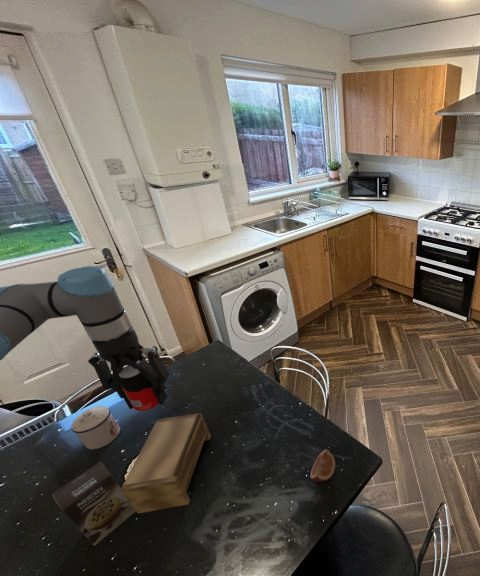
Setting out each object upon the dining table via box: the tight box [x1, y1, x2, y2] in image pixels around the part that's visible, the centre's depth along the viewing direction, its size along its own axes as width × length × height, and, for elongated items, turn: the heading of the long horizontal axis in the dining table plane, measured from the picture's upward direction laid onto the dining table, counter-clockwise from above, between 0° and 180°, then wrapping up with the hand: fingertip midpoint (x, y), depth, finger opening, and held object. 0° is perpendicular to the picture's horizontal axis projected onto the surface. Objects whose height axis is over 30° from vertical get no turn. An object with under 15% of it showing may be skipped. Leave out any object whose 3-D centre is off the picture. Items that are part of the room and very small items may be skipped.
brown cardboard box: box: [52, 461, 137, 546], centre depth 74 cm, size 9×6×16 cm
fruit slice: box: [309, 448, 336, 483], centre depth 87 cm, size 8×7×5 cm
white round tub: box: [70, 405, 121, 450], centre depth 96 cm, size 12×9×12 cm
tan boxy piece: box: [120, 412, 212, 514], centre depth 86 cm, size 12×20×12 cm, turn 11°
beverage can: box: [119, 365, 159, 412], centre depth 79 cm, size 6×6×12 cm
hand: (148, 402), depth 82 cm, fingers closed on beverage can, 6 cm apart
